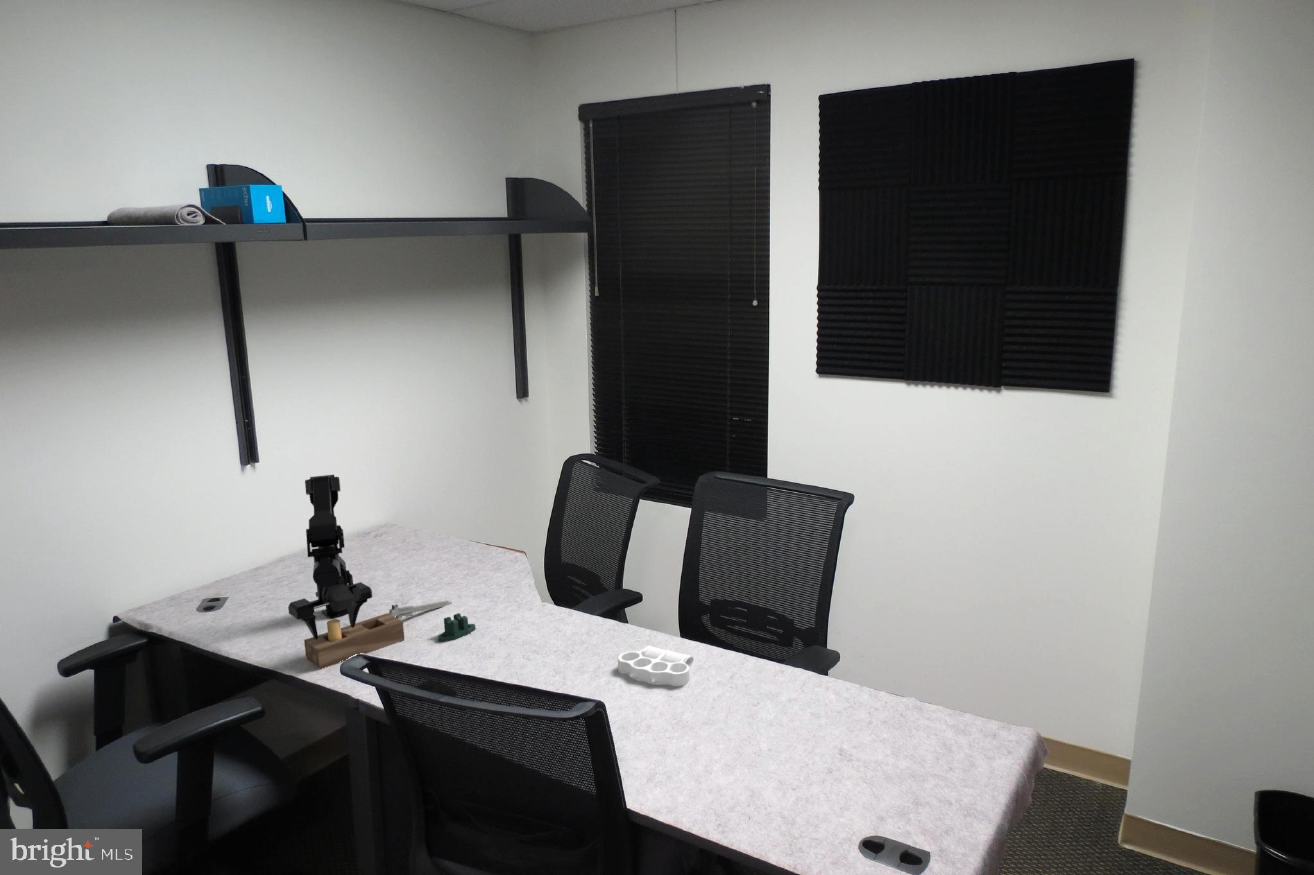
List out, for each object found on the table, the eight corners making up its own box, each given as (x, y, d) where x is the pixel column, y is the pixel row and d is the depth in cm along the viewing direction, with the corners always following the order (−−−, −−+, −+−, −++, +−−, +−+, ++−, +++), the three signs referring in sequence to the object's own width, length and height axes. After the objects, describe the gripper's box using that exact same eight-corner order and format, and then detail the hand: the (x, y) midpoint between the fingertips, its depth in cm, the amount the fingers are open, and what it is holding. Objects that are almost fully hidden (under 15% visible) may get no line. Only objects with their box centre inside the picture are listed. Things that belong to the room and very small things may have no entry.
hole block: (306, 659, 219) (304, 639, 218) (389, 631, 234) (387, 613, 233) (320, 669, 213) (318, 650, 212) (404, 640, 228) (402, 621, 227)
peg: (328, 656, 220) (324, 621, 218) (340, 652, 222) (336, 618, 220) (333, 659, 218) (330, 625, 216) (345, 655, 220) (342, 621, 218)
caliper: (392, 629, 235) (390, 607, 234) (389, 628, 236) (387, 606, 235) (452, 604, 251) (450, 582, 250) (449, 603, 252) (448, 582, 251)
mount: (443, 645, 225) (442, 626, 224) (433, 640, 228) (432, 621, 227) (479, 631, 233) (478, 613, 232) (469, 626, 236) (468, 608, 235)
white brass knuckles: (705, 668, 210) (675, 695, 198) (639, 652, 219) (607, 678, 206) (705, 654, 209) (675, 681, 197) (639, 639, 218) (606, 664, 206)
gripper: (303, 592, 204) (311, 656, 207) (380, 570, 216) (385, 630, 220) (284, 580, 212) (291, 641, 215) (358, 559, 224) (364, 618, 227)
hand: (334, 633), depth 219 cm, fingers open, 9 cm apart
